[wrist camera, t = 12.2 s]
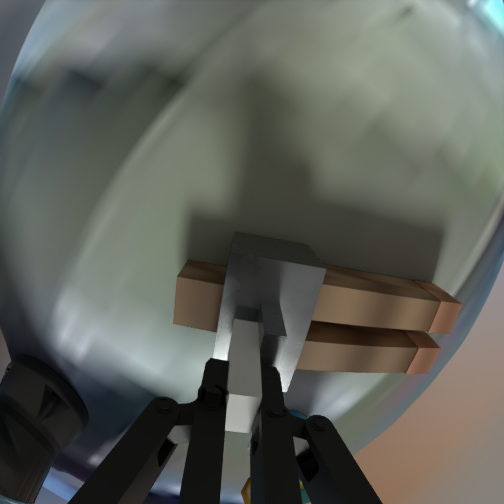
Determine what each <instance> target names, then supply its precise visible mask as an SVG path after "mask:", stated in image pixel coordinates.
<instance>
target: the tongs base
mask: <svg viewBox="0 0 504 504" xmlns="http://www.w3.org/2000/svg"><path fill="white" fill-rule="evenodd" d="M226 272H227V267H225V266H220V265H214V264H209V263H203V262H198V261H192V260H188V261H187V263H186V264H185V266H184V267H183V269H182V270H181V272H180V273H179V275H178V276H177V284H176V295H175V307H174V321H173V324H177V325H182V326H187V327H192V328H197V329H202V330H207V331H213V332H217V328H218V322H219V315H220V309H221V303H222V297H223V291H224V284H225V278H226ZM440 349H441V348H440V347H439V346H438V345H437V343H436V342H435V341H434V340H433V339H432V338H431V337H430V336H429V335H428V334H427V333H426V332H425V331H418V330H404V329H391V328H379V327H368V326H358V325H349V324H340V323H331V322H323V321H315V320H311V323H310V326H309V330H308V333H307V336H306V339H305V342H304V345H303V348H302V351H301V354H300V357H299V359H298V362H297V365H296V368H295V369H303V370H316V371H332V372H359V373H397V372H404V373H405V374H423V373H428V371H429V370H430V368H431V366H432V364H433V362H434V361H435V359H436V357H437V355H438V353H439V351H440Z"/></svg>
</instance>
